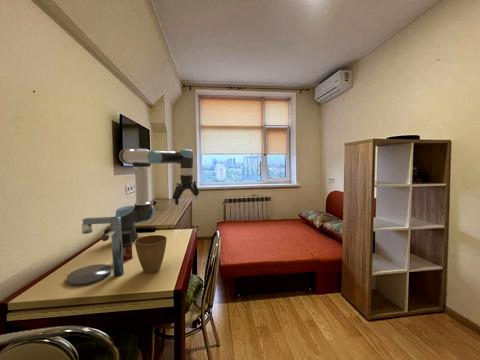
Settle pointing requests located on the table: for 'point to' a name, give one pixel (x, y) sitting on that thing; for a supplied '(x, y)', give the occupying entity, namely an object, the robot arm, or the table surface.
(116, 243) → the press
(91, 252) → the table surface
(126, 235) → the deodorant
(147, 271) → the plant pot
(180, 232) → the table surface
